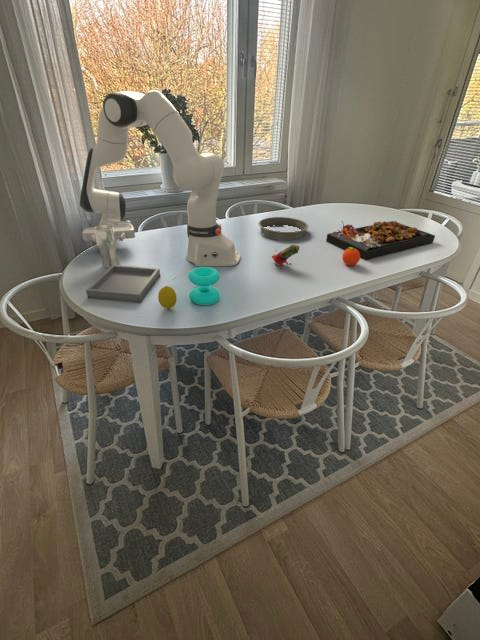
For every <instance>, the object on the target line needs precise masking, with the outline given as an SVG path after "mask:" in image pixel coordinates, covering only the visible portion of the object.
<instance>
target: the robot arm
mask: <svg viewBox="0 0 480 640" xmlns="http://www.w3.org/2000/svg"><path fill="white" fill-rule="evenodd" d="M97 123H98V124H97V140H96V144H95V145H94V147H92V148H90V149H89V151H88V152H87V157H86V162H85V167H84V174H83V179H82V186H81V190H80V192H79V195H78V204H79V207H81V209H82V210H83V211H85V212H86V213H94V214H95V213H97V214H102V216H101V218H100V221H99V222H100V223H99V225H111V226H113V230H114V233H115V238H116V240H118V241H119V242H123V241H124V240H126V239H135V238H136V233H135V227H134V226H133V224H132V223H131V220H129V219H124V218H125V216H126V199H125V197H124V196H123V194H122V193H120V192H119V191H113V190H105V189H99V188H95V187H94V181H95V176H96V172H97V170H98V169H99V168H102V167H106V166H110V165H115V164H118V163H120V162H121V161H123V160H124V159H125V158H126V156H127V154H128V145H129V130H130V128H140V127H146V126H148V127H150V129H151V131H152V132H153V133H154V135H155V137H156V138H157V139H158V141H159V142H160V143H161V145H162V147H163V148H164V149H165V150H166V152H167V155H168V156H169V158H170V161H171V164H172V167H173V168H172V178H173V180H174V182H175V184H176V186H177V187H178V188H179V189H181V190H183V191H191V193H190V196H189V198H188V200H187V203H186V208H187V224H186V233H187V237H188V241H187V250H186V251H187V252H186V256H185V257H186V260H187V261H188V262H191V263H192V264H194V265H195V266H196V267H234V266H236V265H237V264H239V263H240V260H241V253H240V252H239V251H238V250H236V247H235V243H234V241H233V240H232V239H230V238H229V237H227V236H226V235H225V234H224V233H222V224H218V223H217V201H218V195H219V189H220V184H221V181H222V177H223V175H224V174H225V168H226V167H225V163H224V160H223V159H222V157H221V156H220V155H218V154H217V153H214V152H207V151H206V152H203V153H199V152H198V150H197V149H196V146H195V144H194V142H193V132H192V130H191V129H190V128H189V126H188V125H187V122H185V120H184V118H183V117H182V116H181V115H180V113H179V112H178V111H177V108H175V106H174V105H173V104H172V103H171V101H170V100H169V99H168V98H167V96H165V95H164V94H163V93H162V92H160V91H159V90H156V89H151V90H149V91H146V92H137V91H131V90H125V91H112V92H110V93H109V94H107V95H106V96H105V97H104V99H103V103H102V108H101V109H100V111H99V116H98V122H97ZM95 227H96V226H92V227H91V226H89V227H86V228H84V229H83V231H82V233H81V234H82V239H83V241H84V242H93V243H96V244H97V242H96V238H95V230H94V228H95Z"/></svg>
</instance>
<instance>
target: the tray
mask: <svg viewBox="0 0 480 640" xmlns="http://www.w3.org/2000/svg"><path fill="white" fill-rule="evenodd" d="M160 277H161V270H160V268H156V267H145V266H142V267H141V266H133V265H132V266H131V265H130V266H129V265H120V264H119V265H112V266H111V267H110V268H107V269H106V270H105V271H104V272H103V273H102V274H101V275H100V276H99V277H98V278H97V279H96V280H95V281H94V282H92V284H91V285H90V286H89V287H87V288H85V292H86V296H87V299H90V300H91V299H94V300H103V301H106V300H107V301H114V302H115V301H116V302H127V303H138V304H140V303H142V301H143V300H144V299H145V297H147V295H148V293H149V292H150V291H151V290H152V287H154V285H155V284H156V283H157V281H158V279H160Z"/></svg>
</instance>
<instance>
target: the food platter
mask: <svg viewBox="0 0 480 640" xmlns="http://www.w3.org/2000/svg"><path fill="white" fill-rule="evenodd" d="M341 222H342V228H341V227H339V228H340V229H341V230H339V229H337V231H334V232H331V233H327V234H326V239H325V240H326V241H325V242H326V243H328V244H331V245H332V246H334V247H336V248H338V249H341V250H343V251H346V250H347V249H349V248H348V247H352V248H355V249H357V250H358V251H359V253H360V259H361V260H364V261H368V260H372V259H377V258H381V257H385V256H388V255H392V254H395V253H400V252H403V251H407V250H412V249H416V248H419V247H424V246H427V245H431V244H433V243H434V240H435V237H436V235H435V234H432V233H429V232H426V231H422V230H420V229H418V227H411V226H410V225H409V226H408V225H406V224H403V223H400V222H397V220H396V221H394V220H392V221H378V222H377V221H374V222H373V224H372V225H366V226H361V227H357V228H355V226H354V225H353V224H348V223H347V224H346V225H344V222H343V220H341ZM346 248H347V249H346Z"/></svg>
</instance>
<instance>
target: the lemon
mask: <svg viewBox="0 0 480 640" xmlns="http://www.w3.org/2000/svg"><path fill="white" fill-rule="evenodd" d="M157 298H158V304H159V305H160V306H161V307H162V308H164V309H167V310H170V309H171V308H173V307H174V306H175V305H176V303H177V293H176V291H175V289H174V288H173V287H171V286H167V285H166V286H163V287H161V288H160V289H159V292H158V297H157Z"/></svg>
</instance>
